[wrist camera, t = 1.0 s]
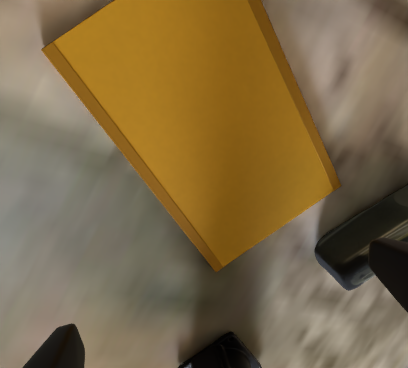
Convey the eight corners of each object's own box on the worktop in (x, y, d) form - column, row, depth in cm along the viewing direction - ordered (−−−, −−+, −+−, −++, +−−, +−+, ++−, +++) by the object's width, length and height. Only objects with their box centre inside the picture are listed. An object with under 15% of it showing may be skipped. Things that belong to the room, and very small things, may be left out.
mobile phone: (353, 301, 22) (512, 197, 22) (340, 277, 21) (508, 167, 21) (317, 264, 27) (449, 177, 27) (305, 242, 26) (443, 152, 26)
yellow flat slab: (338, 184, 24) (341, 185, 24) (214, 269, 24) (216, 272, 24) (225, -74, 17) (227, -78, 16) (43, 50, 17) (40, 49, 16)
